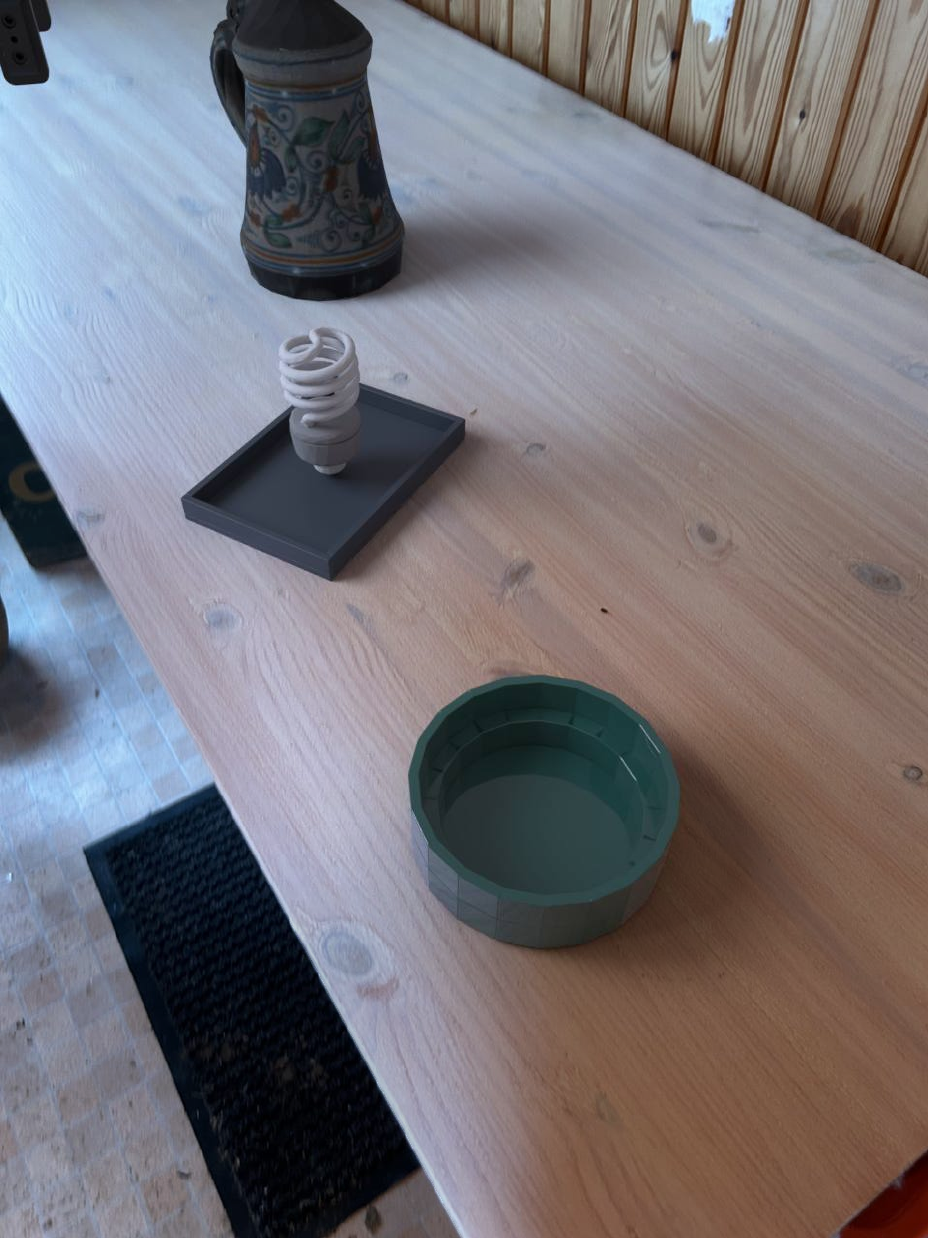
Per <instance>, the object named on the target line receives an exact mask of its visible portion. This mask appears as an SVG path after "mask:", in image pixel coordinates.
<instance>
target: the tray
mask: <svg viewBox="0 0 928 1238" xmlns="http://www.w3.org/2000/svg"><path fill="white" fill-rule="evenodd" d="M332 378H334V379H336V378H338V376H334V377H332ZM345 387H346V386H345ZM345 387H344V388H345ZM334 394H335V393H334V392H333V393H331V394H328V395H323V396H332V395H334ZM318 397H321V396H318ZM300 398H301V399H307V400H309V399H311V398H316V397H302V396H300ZM354 405H355V407H356V408H357V409H358V410H359V413H360V416H361V424H362V430H361V447H360V449H359V452H358V453H357V454H356V455H355V456H354V457H353V458H352V459H351V460H349V461H347V462H346V466H345V467H344V468H343V469H342V470H341V471H340V472H338V473H336V474H331V475H327V474H324V473H321V472H319V471H318V470H316V469H315V467H314V465H312V464H309V463H307V462H306V461H304V460H302V459H301V458H300V457H299V456H298V455H297V453H296V451H295V448H294V444H293V441H292V437H291V433H290V427H289V425H290V422H289V419H290V416H291V413H292V411H293V410H294V409H295V408H296V407H294V406H292V405H291V404H290V406H289V407H287V408H286V409H285V410H284V411H283V412H281V414H279V415H278V416H277V417H276V418H274V419H273V420H272V421H271V422H270V423H268V424H267V425H266V426H265V427H264V428H262V429H261V430H260V431H259V432H257V434H255V435H254V436H253V437H251V438H250V439H249V440H248V441H246V442H245V444H243V445H242V446H241V447H239V449H237V450H236V451H235V452H234V453H233V454H231V455H230V456H229V457H228V458H227V459H225V460H224V461H223V462H222V463H220V464H219V465H217V467H215V468H214V469H213V470H212V471H211V472H210V473H208V474H207V475H206V476H205V477H204V478H203V479H201V480H200V481H199V482H198V483H196V484H195V485H194V486H193V487H192V488H190V489H189V490H188V491H187V492H186V493H184V494H183V495H182V496H181V497H180V503H181V507H182V509H183V513H184V518H185V519H186V520H189V521H190V522H193V523H196V524H198V525H199V526H202V527H204V528H207V529H209V530H211V531H214V532H216V533H218V534H220V535H223V536H225V537H228V538H230V539H232V540H234V541H236V542H239V543H240V544H244V545H246V546H249V547H251V548H253V549H256V550H258V551H260V552H262V553H264V554H267V555H270V556H272V557H274V558H276V559H279V560H280V561H283V562H285V563H288V564H290V565H293V566H295V567H297V568H300V569H301V570H304V571H306V572H309V573H311V574H313V575H316V576H317V577H321V578H323V579H325V580H327V581H330V582H331V581H333V579H335V577H336V576H337V575H338V574H339V573H340V572H341V571H342V570H343V569H344V568H345V567H346V566H347V565H348V564H349V563H350V562H351V561H352V559H353V558H355V556H356V555H357V554H358V553H359V552H360V551H361V550H362V549H363V548H364V547H365V546H366V544H368V542H370V541H371V539H372V538H373V537H374V536H375V535H376V534H377V533H378V532H379V531H380V530H381V529H382V528H383V527H384V526H385V525H386V523H388V522H389V520H390V519H392V517H394V515H395V514H396V513H397V512H398V511H399V510H400V509H401V508H402V507H403V505H404V504H405V503H406V502H407V501H409V500H410V498H411V497H413V495H414V494H415V493H416V492H417V490H419V489H420V488H421V486H423V484H424V483H426V481H427V480H429V478H430V477H431V476H432V475H433V474H434V473H435V472H436V471H437V470H438V468H440V466H442V465H443V464H444V462H446V460H447V459H448V458H449V457H450V456H451V455H452V454H453V453H454V451H455V450H456V449H458V447H459V446H461V444H462V443H463V442H464V441H465V440H466V418H463V417H461V416H457V415H455V414H453V413H452V414H451V413H449V412H446V411H443V410H440V409H437V408H434V407H431V406H429V405H426V404H423V403H421V402H417V401H415V400H411V399H409V398H405V397H402V396H400V395H397V394H394V393H391V392H388V391H385V390H383V389H380V388H376V387H374V386H370V385H368V384H365V383H362V382H359V396H358V399H357V400H356V402H355V404H354Z"/></svg>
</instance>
